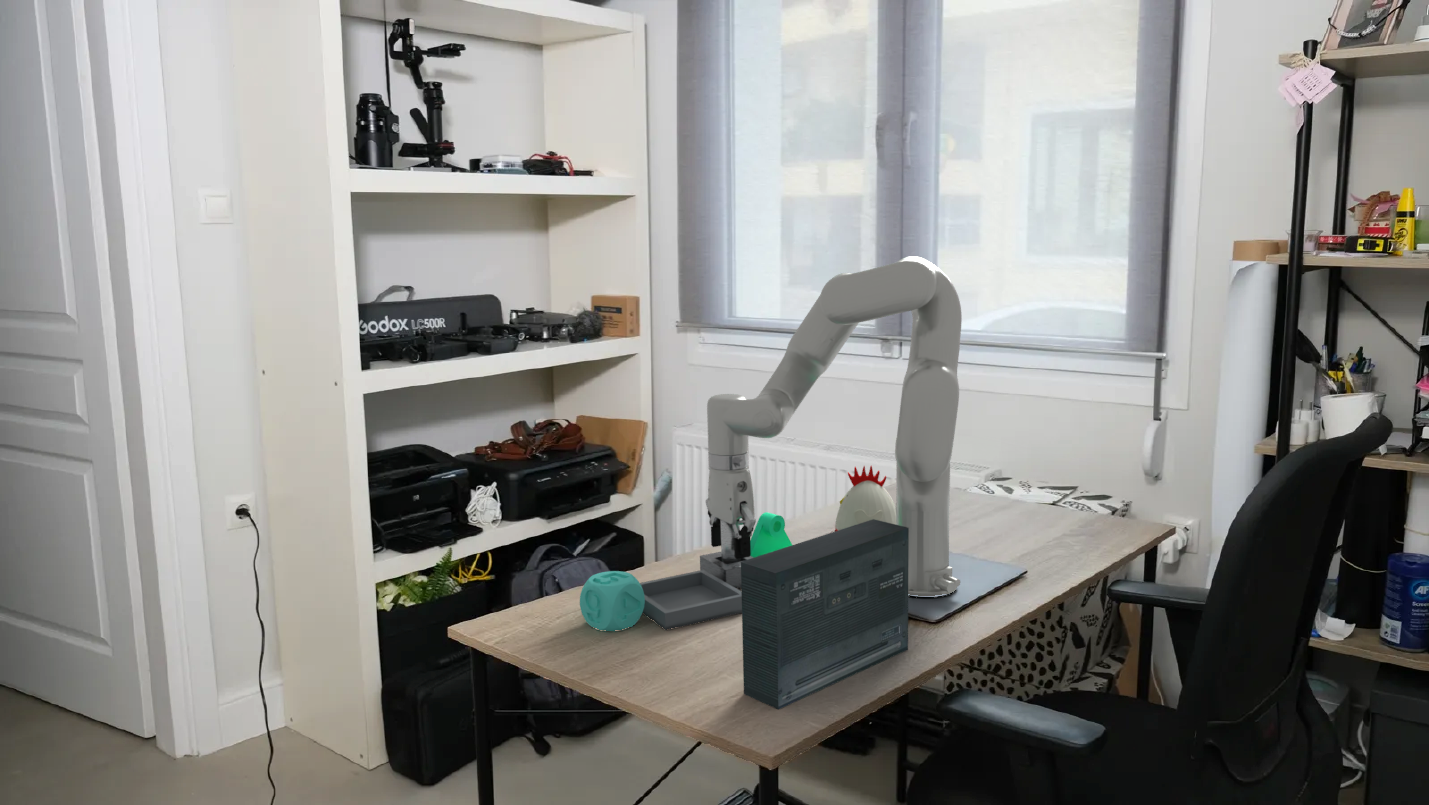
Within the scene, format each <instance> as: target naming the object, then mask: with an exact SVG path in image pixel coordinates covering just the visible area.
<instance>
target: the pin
mask: <svg viewBox="0 0 1429 805" xmlns="http://www.w3.org/2000/svg"><path fill="white" fill-rule="evenodd" d="M740 520H741V519H737V521H740ZM720 521H721V546H720V547H721V548H720V552H721V559H722V562H723V563H725V564H731V563H736V562H741V558H740V559H736V558H735V557H734V538H736V534H735V531H734V528H733V525H732V524H729V523H727V522H725V521H723V520H721V519H720ZM739 529H740V530H741V525H739Z"/></svg>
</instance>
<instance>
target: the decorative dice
mask: <svg viewBox="0 0 1429 805" xmlns="http://www.w3.org/2000/svg"><path fill="white" fill-rule="evenodd" d="M640 583H641V582H640V581H639V580H638V578H636V577H635V576H634V575H633V574H632V573H629V572H627V571H622V570H621V571H619V570H610V571H609V570H607V571H602V572H598V573H596V574H595V573H594V574H593V575H591V576H590V577H589V578H588V579H587V580H586V582H585V583H584V584H583V586H582V589H581V591H580V595H579V608H580V611H581V614H582V617H583V618H584V620H585V622H586V623H587V624H588V625H589V626H590V627H591V628H592V627H594V628H597V629H599V630H606V631H613V632H616V631H615V630H621V631H623V630H622V629H625V628H628V627H631V628H632V627H634V626H633V625H636V623H638V622H639V621H640V618H641V616H642V615H643V614H642V613H643V609H644V604H645V597H644V592H643V589H642V586H641V584H640ZM594 628H593V629H594ZM628 629H629V628H628ZM599 630H598V631H599ZM625 630H626V629H625ZM606 631H605V632H606Z"/></svg>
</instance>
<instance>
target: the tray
mask: <svg viewBox="0 0 1429 805" xmlns="http://www.w3.org/2000/svg"><path fill="white" fill-rule="evenodd" d="M639 583H640V584H641V586H642V589H643V592H644V597H645V604H644V609H643V613H644V614H645V615H646V616H648V617H649V618H650V619H652V620H654V621H655V622H656V623H657V624H658V626H659V625H660V626H661V627H660V626H659V627H660V628H662V627H663V628H664V629H665V630H664V629H663V628H662V629H663V630H664V631H668V630H667V629H670V630H672V629H671V628H674V629H676V628H675V627H679V628H682V626H683V627H686V626H690V624H691V625H695V623H696V624H699V623H698V622H700V623H704V622H707V621H708V620H709V621H712V620H711V619H713V620H717V619H720V618H726V617H730V616H733V615H738V614H742V591H741V590H740V589H739V588H737V589H736V588H735V587H733V586H731V585H729V584H728V583H726V582H724V581H722V580H720V579H719V578H717V577H715V576H713V575H712V574H710V573H708V572H706V571H705V570H700V569H699V570H697V571H696V570H695V571H691V572H686V573H681V574H676V575H672V576H668V577H666V576H665V577H661V578H657V579H653V580H648V581H643V582H639ZM645 615H644V616H645ZM646 616H645V617H646ZM648 617H647V618H648ZM649 618H648V619H649ZM650 619H649V620H650ZM652 620H651V621H652ZM703 621H704V622H703ZM709 621H708V622H709ZM655 622H654V623H655ZM656 623H655V624H656ZM657 624H656V625H657Z"/></svg>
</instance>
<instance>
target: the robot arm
mask: <svg viewBox="0 0 1429 805" xmlns="http://www.w3.org/2000/svg"><path fill="white" fill-rule="evenodd" d="M958 294H959V293H957V289H956V287H955V286H954V284H953V282H952V281H951V279H950V278H949V277H948V275H947V274H945V273H944V271H942V270H941V269H940V268H939V267H937V265H935V264H933V263H932V262H930V261H929V260H927V259H925V258H923V257H920V256H912V255H911V256H906V257H904V258H903V257H902V258H901V259H899V260H897V261H896V262H892V263H889V264H885V265H882V266H879V267H877V266H876V267H874V268H871V269H867V270H862V271H858V272H853V273H851V272H843V273H841V272H840V273H838V274H837V275H834V277H832V278H830V279H829V280H828V281H827V282H826V283H825V285H824V286H822V290H821V292H820V294H819V296H818V298H817V299H816V300H815V302H814V303H813V305H812V307H811V308H810V309H809V311H808V312H807V314H806V315H805V317H804V318H803V320H802V322H801V323H800V324H799V326H798V327H797V329H796V330H795V332H794V333H793V335H792V336H791V337H790V340H789V342H788V344H787V347H786V350H785V353H784V355H783V357H782V359H781V361H780V363H778V365H777V367H776V368H775V370H774V371H773V373H772V375H771V377H770V378H769V379H768V381H767V382H766V384H765V385H764V387H763V389H762V390H761V391H760V392H759V394H758V395H757V396H756V397H754V398H749V399H747V398H746V397H745V396H743V395H741V394H734V393H721V394H720V393H719V394H714V395H713V396H710V398H709V399H708V401H707V404H706V405H707V406H706V411H707V412H706V414H707V417H706V418H707V422H706V423H707V447H708V448H707V452H708V454H707V456H708V458H707V459H708V470H709V473H708V482H707V483H708V486H707V490H708V491H707V493H708V494H707V498H706V499H705V505H706V509H707V515H708V517H709V526H710V542H711V544H710V545H711V546H712V548H715V547H721V521H720V519H721V520H723V521H725V522H727V523H729V524H732V525H733V528H734V531H735V534H736V538H734V557H735V558H736V559H740V558H745V557H750V555H751V546H750V540H751V538H752V535H753V532H754V530H755V528H754V527H755V526H756V525H755V524H757V523H756V522H757V521H756V518H755V514H756V513H755V500H754V497H755V496H754V489H753V481H752V476H751V471H750V457H749V456H750V454H749V453H750V452H749V437H754V438H760V439H771V438H775V437H777V436H778V435H780V434H781V433H782V432H783V430H785V428H786V426H787V425H788V423H789V421H791V419H792V418H793V415H795V413H796V411H797V409H798V408H799V407H800V405H801V404H802V402H803V401H804V399H805V397H807V394H808V393H809V392H810V390H811V389H812V387H813V386H814V384H815V383H816V382H817V381H818V379H819V378H820V377H821V376H822V375H823V374H825V372H826V371H827V370H828V369H829V368H830V366H831V364H832V363H833V361H834V360H835V359H836V357H837V356H838V354H839V353H840V351H841V350H842V348H844V345H845V344H846V342H847V341H848V339H849V338H850V336H851V335H852V333H853V332H854V330H855V329H856V328H857V326H858V325H859V323H864V322H870V321H874V320H877V319H883V318H885V317H889V316H894V315H898V314H903V313H906V312H911V316H912V323H911V324H912V326H911V335H910V347H909V348H910V349H909V355H908V356H909V357H908V362H907V367H906V368H907V369H906V372H905V375H904V377H903V383H902V388H901V397H900V406H899V415H898V425H897V432H896V440H895V449H894V457H895V458H894V459H895V461H896V462H895V463H896V469H895V470H896V476H895V477H896V487H895V488H896V489H895V490H896V491H895V494H896V495H895V500H896V501H895V502H896V503H895V507H896V525H899V526H903V527H908V528H909V559H908V594H910V595H918V596H935V595H942V594H949V593H952V592H953V593H955V592H956V591H957V589H958V587H959V586H960V585H961V579H959V578H957V577H955V576H953V567H952V566H950V514H951V513H950V512H951V511H950V509H951V508H950V506H951V460H952V455H953V447H954V441H955V440H954V438H955V433H956V432H955V431H956V425H957V417H958V408H959V400H960V384H959V379H958V367H959V356H960V344H961V335H962V334H961V332H962V320H963V319H962V305H961V300H960V297H959V295H958ZM737 519H740V521H737ZM739 525H740V526H742V527H741V528H740V529H739ZM956 588H957V589H956ZM955 590H956V591H955ZM954 591H955V592H954ZM953 593H952V594H953ZM949 595H950V594H949Z"/></svg>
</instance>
